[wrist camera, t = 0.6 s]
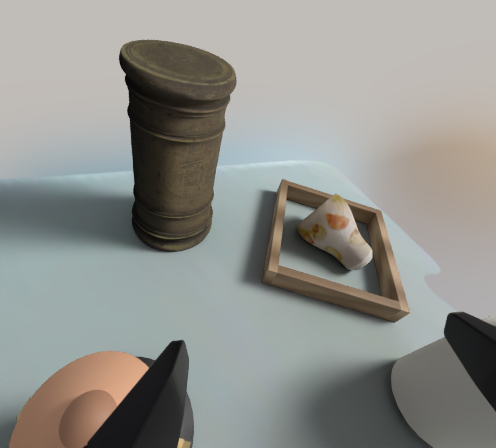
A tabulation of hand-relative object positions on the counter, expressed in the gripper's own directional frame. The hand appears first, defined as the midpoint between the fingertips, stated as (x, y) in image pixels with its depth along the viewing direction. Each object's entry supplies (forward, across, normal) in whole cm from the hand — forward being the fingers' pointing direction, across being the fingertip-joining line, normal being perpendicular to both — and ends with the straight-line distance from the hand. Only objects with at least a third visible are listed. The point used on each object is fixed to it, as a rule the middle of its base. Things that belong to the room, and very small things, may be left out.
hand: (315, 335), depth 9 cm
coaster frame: (+25, -8, +10) cm, 28 cm away
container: (+23, +11, +4) cm, 26 cm away
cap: (+2, +11, +8) cm, 14 cm away
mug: (+25, -9, +10) cm, 28 cm away
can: (+9, -13, +19) cm, 25 cm away
